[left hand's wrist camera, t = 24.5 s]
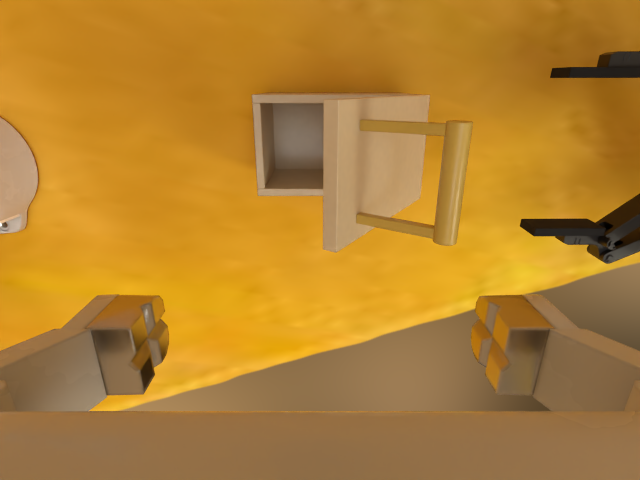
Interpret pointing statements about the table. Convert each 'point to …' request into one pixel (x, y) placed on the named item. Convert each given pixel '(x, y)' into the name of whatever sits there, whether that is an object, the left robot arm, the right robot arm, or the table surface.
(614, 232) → the right robot arm
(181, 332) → the table surface
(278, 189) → the chest
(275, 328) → the table surface
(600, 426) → the left robot arm
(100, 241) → the table surface
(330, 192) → the lid
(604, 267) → the table surface
